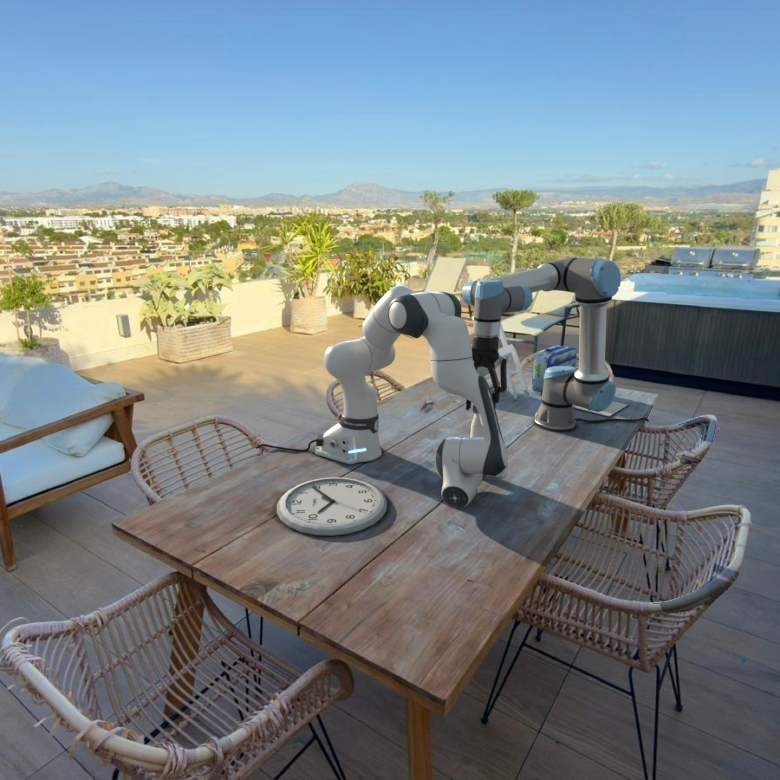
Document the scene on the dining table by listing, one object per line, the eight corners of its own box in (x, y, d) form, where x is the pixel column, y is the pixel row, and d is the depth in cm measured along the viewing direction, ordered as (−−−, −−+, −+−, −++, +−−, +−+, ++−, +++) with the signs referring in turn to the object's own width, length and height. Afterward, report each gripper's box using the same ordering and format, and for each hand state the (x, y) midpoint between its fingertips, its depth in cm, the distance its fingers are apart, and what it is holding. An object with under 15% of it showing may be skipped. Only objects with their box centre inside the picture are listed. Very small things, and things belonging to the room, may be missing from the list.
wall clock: (392, 527, 129) (268, 531, 127) (391, 533, 130) (269, 537, 127) (383, 473, 158) (282, 475, 155) (383, 478, 158) (282, 480, 156)
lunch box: (548, 398, 236) (553, 353, 229) (527, 393, 243) (531, 349, 237) (575, 387, 253) (581, 344, 247) (555, 382, 260) (560, 341, 254)
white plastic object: (461, 429, 252) (437, 405, 227) (444, 352, 274) (420, 323, 250) (535, 404, 240) (518, 377, 215) (510, 326, 262) (492, 293, 237)
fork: (418, 410, 217) (418, 406, 217) (428, 399, 232) (428, 395, 231) (424, 411, 216) (424, 406, 216) (434, 400, 231) (434, 395, 230)
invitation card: (608, 416, 214) (573, 407, 224) (608, 416, 214) (573, 408, 224) (628, 404, 229) (594, 396, 238) (628, 405, 229) (594, 397, 238)
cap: (472, 413, 155) (472, 406, 154) (473, 408, 159) (473, 401, 159) (487, 414, 154) (488, 408, 153) (488, 409, 158) (489, 403, 158)
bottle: (479, 478, 160) (484, 410, 153) (464, 474, 162) (469, 407, 156) (486, 472, 163) (492, 406, 157) (472, 468, 166) (477, 403, 160)
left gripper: (505, 468, 145) (512, 450, 157) (434, 456, 152) (446, 439, 164) (503, 489, 147) (510, 469, 159) (433, 476, 154) (445, 458, 166)
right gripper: (523, 336, 149) (516, 412, 156) (457, 329, 157) (453, 402, 164) (517, 341, 143) (510, 420, 149) (448, 334, 151) (445, 409, 157)
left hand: (477, 454), depth 162 cm, fingers closed on bottle, 5 cm apart
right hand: (480, 410), depth 157 cm, fingers open, 7 cm apart
